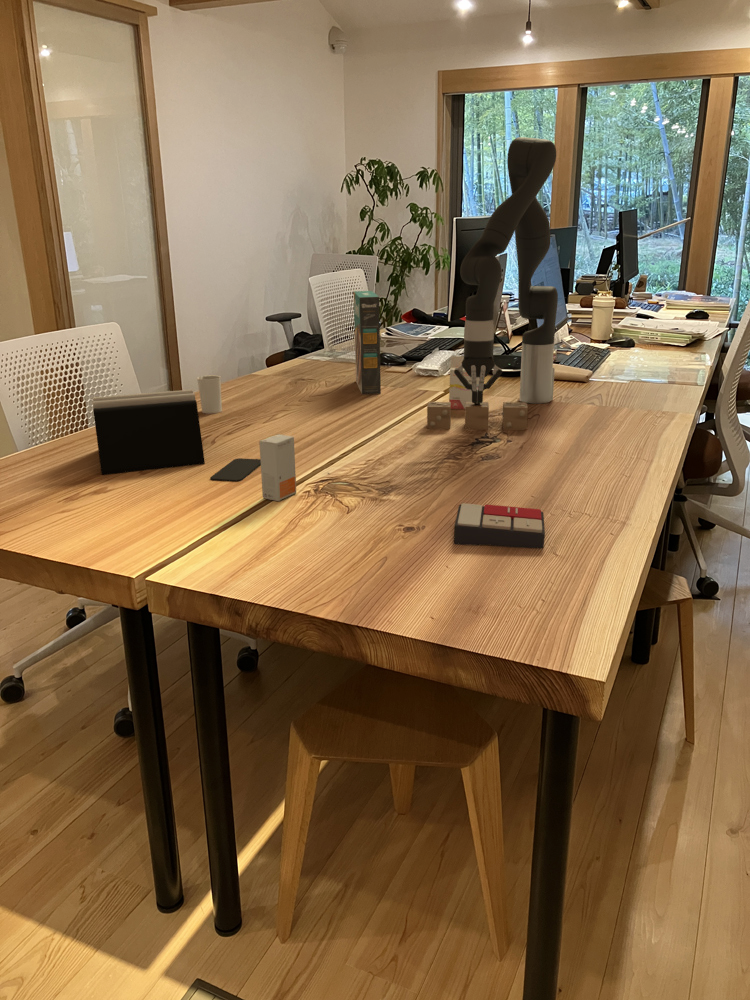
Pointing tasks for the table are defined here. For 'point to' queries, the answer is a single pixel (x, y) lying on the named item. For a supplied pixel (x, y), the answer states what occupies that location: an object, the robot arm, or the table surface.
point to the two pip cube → (515, 416)
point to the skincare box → (278, 467)
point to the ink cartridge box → (459, 386)
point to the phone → (237, 470)
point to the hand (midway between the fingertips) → (477, 404)
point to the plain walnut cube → (476, 416)
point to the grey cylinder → (210, 393)
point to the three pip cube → (438, 415)
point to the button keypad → (499, 526)
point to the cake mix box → (367, 342)
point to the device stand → (147, 431)
